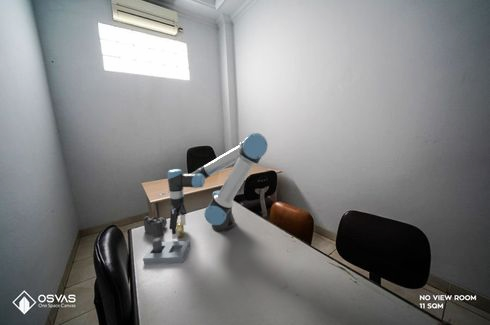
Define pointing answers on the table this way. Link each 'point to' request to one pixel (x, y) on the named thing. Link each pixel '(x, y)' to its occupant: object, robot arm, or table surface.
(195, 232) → the table surface
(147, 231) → the camera
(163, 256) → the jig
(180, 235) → the brass cylinder
